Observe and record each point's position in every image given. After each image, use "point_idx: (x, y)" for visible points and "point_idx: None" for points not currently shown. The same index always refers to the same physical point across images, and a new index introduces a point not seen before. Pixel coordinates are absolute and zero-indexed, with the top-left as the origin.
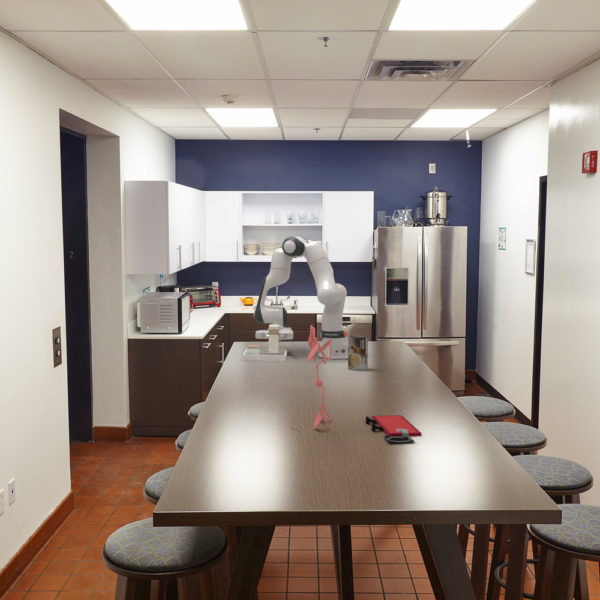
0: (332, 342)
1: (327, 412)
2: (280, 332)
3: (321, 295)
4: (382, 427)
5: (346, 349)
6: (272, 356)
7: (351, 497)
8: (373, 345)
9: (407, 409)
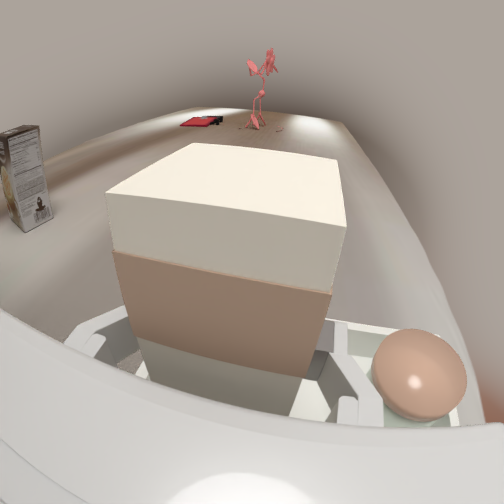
0: None
1: (249, 120)
2: (85, 362)
3: None
4: (214, 119)
5: None
6: None
7: (267, 112)
8: None
9: (160, 130)
